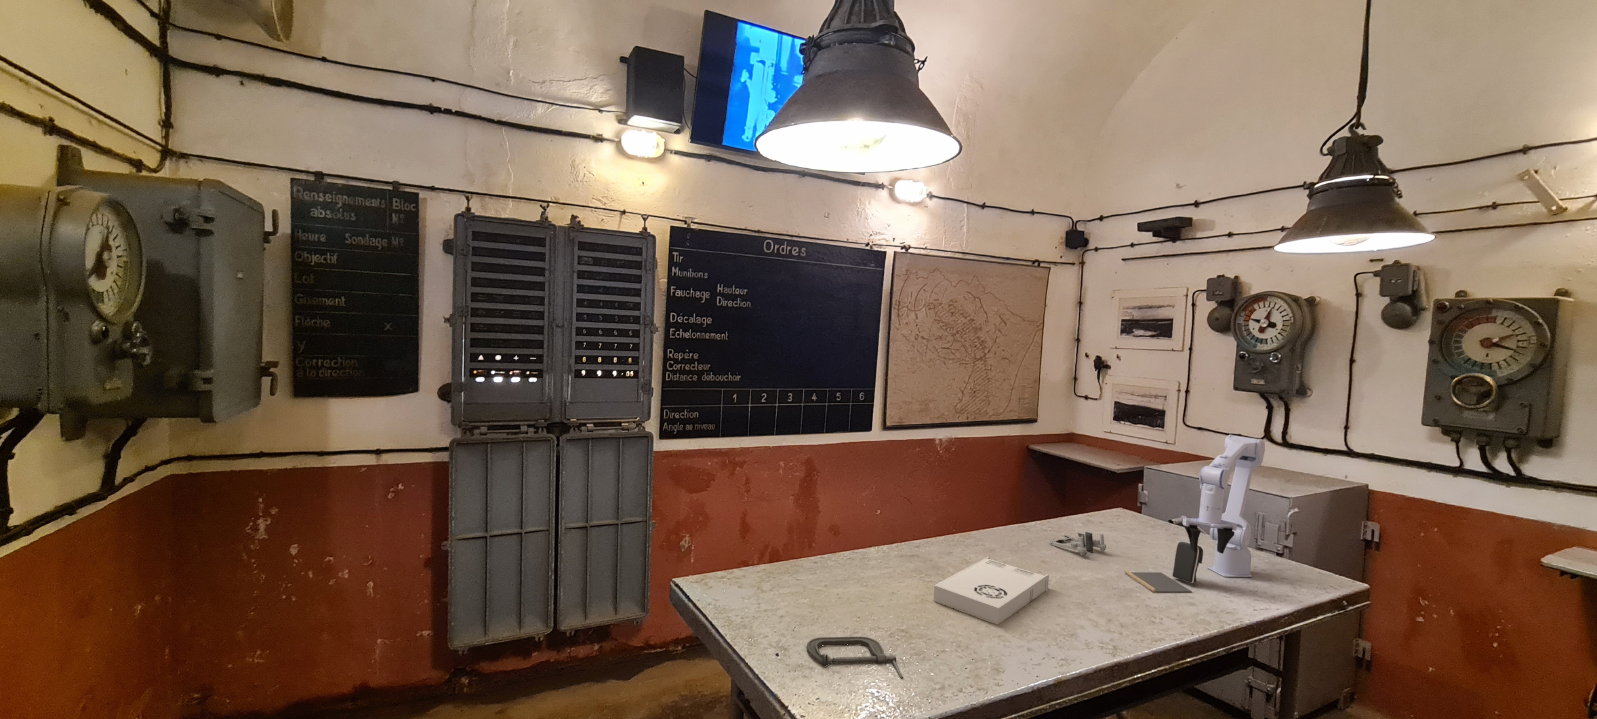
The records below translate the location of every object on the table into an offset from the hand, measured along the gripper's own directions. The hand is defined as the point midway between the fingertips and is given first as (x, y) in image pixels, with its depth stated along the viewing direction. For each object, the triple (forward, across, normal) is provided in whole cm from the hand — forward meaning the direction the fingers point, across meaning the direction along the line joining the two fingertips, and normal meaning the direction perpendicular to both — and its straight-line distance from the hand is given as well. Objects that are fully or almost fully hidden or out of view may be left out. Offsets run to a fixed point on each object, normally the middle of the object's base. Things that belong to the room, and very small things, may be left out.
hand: (1206, 551), depth 196 cm
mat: (+11, -13, 0) cm, 17 cm away
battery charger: (+10, -4, +2) cm, 11 cm away
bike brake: (+11, -29, +28) cm, 42 cm away
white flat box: (+14, -66, -18) cm, 70 cm away
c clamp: (+16, -105, -58) cm, 121 cm away
